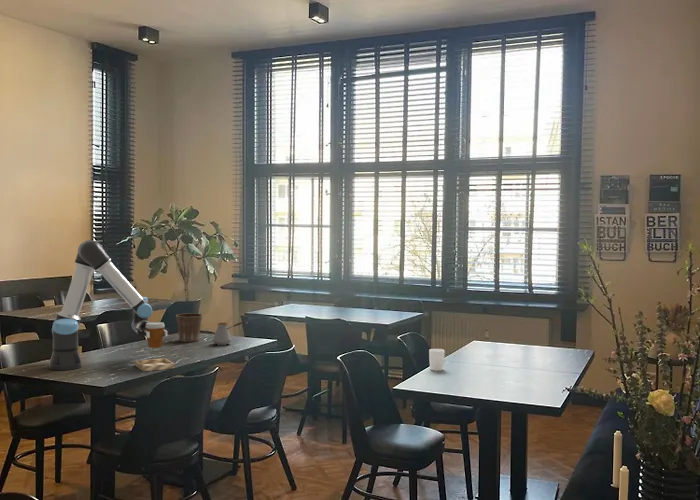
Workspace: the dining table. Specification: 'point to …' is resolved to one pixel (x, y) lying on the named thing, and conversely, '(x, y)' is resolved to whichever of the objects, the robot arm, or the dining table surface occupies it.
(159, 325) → the disposable coffee cup
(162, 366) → the oak tray
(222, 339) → the coffee pot
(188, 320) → the plant pot
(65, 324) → the robot arm
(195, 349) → the dining table surface
